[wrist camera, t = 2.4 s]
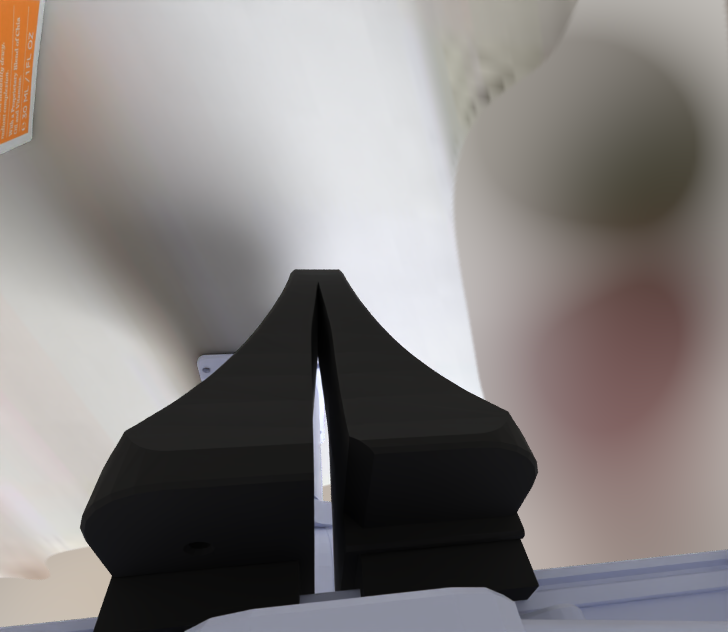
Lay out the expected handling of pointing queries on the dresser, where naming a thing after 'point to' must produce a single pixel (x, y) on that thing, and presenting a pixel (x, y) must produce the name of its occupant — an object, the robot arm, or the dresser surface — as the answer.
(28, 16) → the skincare box
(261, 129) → the dresser surface
